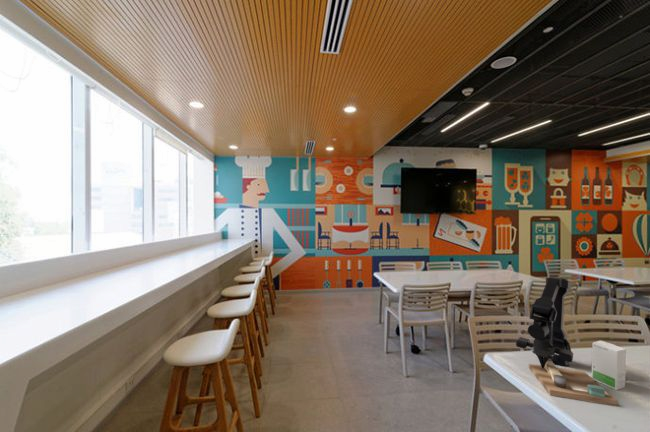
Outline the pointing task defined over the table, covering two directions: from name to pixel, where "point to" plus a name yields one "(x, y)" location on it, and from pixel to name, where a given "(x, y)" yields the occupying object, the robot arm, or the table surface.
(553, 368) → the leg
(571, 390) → the tan wooden flat tray
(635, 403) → the table surface
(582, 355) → the table surface
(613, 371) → the skincare box
